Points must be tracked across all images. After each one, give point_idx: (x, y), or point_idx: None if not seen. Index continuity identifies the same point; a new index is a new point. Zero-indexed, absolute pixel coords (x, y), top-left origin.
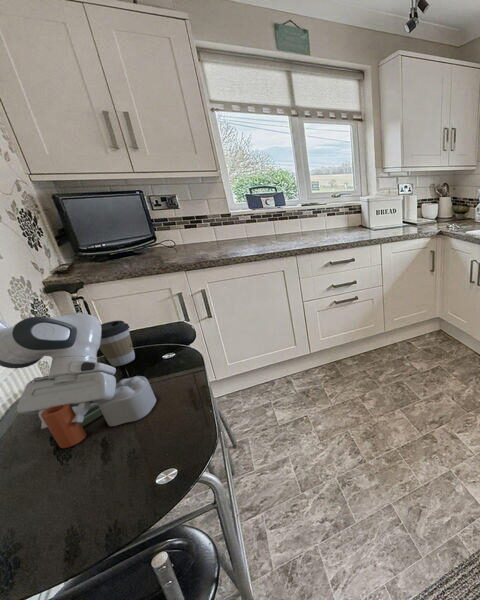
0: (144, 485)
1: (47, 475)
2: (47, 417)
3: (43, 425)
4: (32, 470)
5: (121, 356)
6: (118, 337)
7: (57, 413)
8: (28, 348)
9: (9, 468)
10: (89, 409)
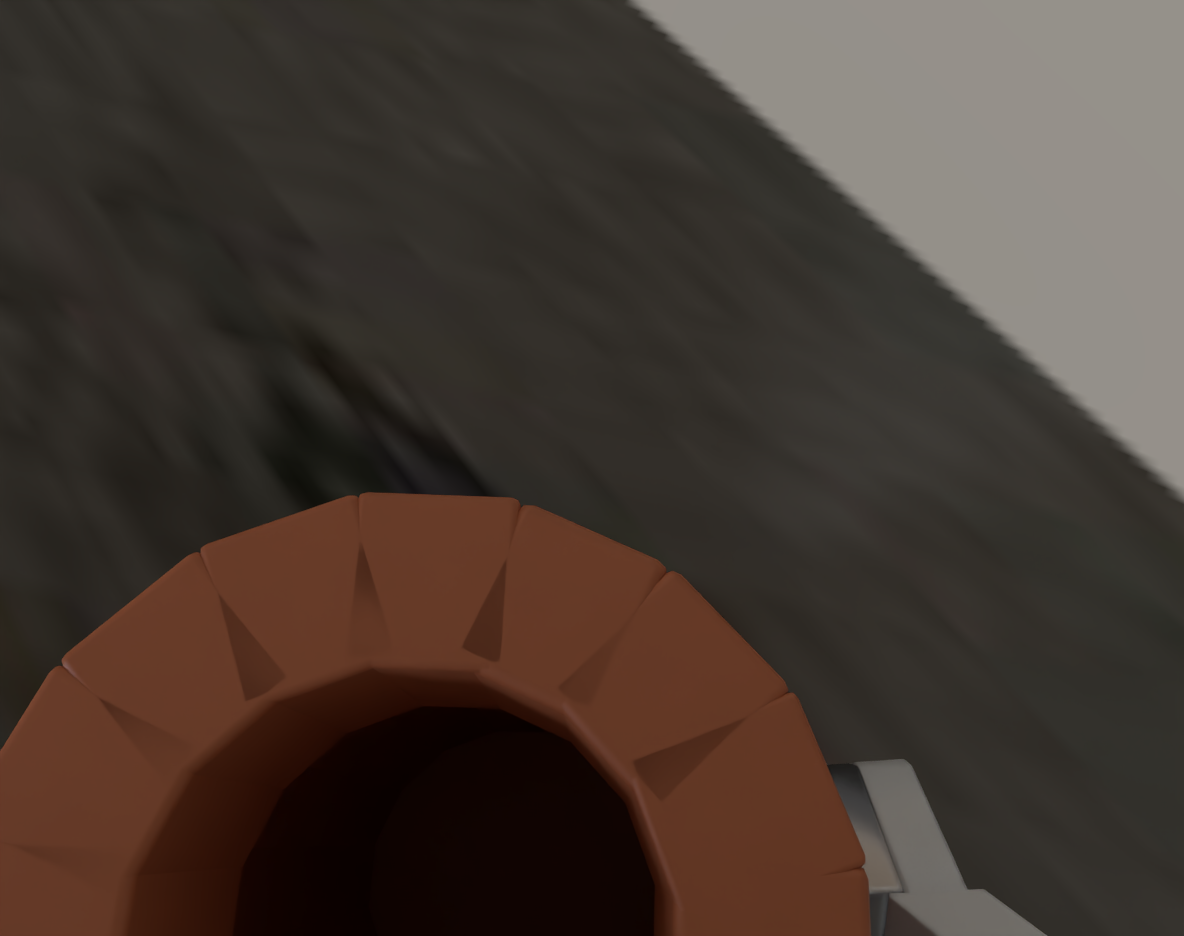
0: None
1: (382, 198)
2: (420, 507)
3: (868, 794)
4: (674, 326)
5: None
6: None
7: (126, 613)
8: None
9: (1081, 439)
10: None
